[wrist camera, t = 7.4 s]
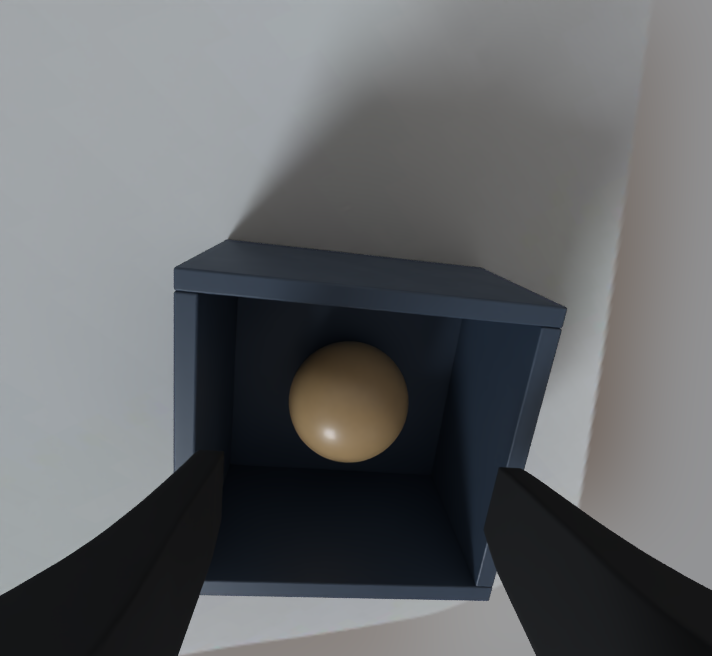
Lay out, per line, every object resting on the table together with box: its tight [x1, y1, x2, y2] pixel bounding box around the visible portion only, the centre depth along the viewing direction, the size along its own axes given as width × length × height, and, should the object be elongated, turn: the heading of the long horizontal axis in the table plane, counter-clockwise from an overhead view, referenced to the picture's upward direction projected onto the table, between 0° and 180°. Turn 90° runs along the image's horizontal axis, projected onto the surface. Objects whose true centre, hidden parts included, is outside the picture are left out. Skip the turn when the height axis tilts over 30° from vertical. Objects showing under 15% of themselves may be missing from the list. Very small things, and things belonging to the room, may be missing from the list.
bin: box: [174, 239, 567, 601], centre depth 16 cm, size 10×10×6 cm
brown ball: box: [289, 341, 409, 463], centre depth 16 cm, size 4×4×4 cm
